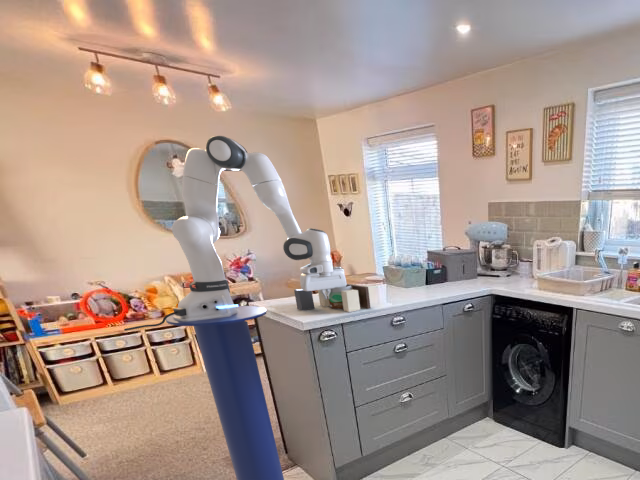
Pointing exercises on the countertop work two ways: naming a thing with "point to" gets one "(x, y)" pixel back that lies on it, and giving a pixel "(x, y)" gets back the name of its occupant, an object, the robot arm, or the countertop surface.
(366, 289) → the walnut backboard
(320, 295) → the cream block back
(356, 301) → the cream block front
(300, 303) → the grey block
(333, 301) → the food container
